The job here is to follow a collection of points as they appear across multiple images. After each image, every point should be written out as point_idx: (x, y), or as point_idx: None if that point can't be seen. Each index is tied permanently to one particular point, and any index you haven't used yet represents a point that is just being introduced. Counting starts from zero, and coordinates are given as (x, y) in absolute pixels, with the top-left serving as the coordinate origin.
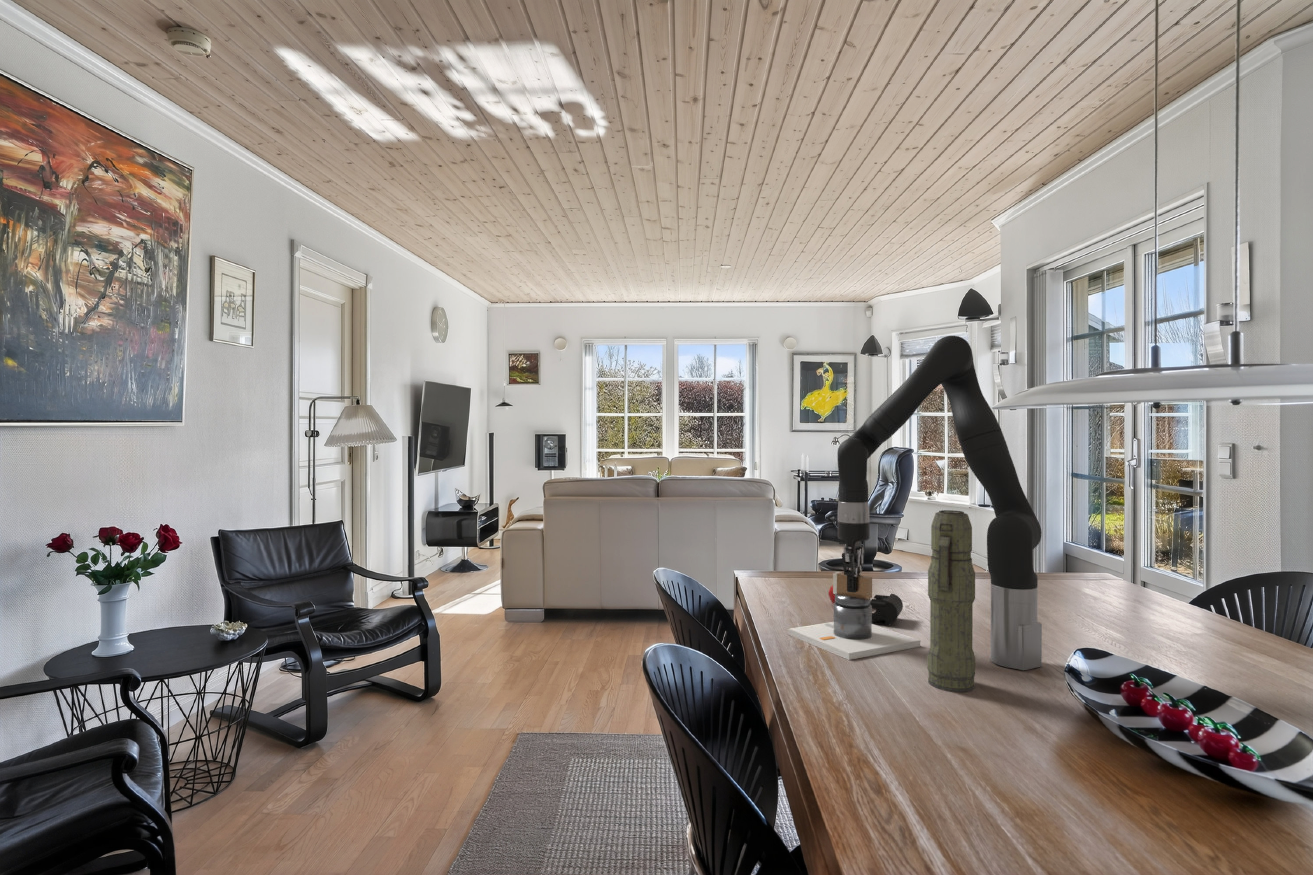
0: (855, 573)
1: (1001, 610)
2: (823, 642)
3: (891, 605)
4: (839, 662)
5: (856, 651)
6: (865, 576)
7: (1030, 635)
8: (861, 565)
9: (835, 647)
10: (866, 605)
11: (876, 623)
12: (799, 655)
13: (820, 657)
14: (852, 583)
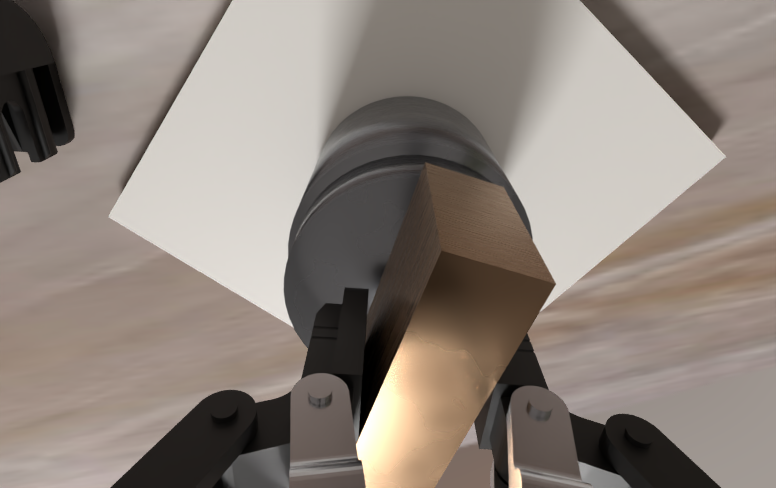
0: (626, 428)
1: None
2: (577, 274)
3: None
4: (745, 176)
5: (691, 128)
6: (441, 316)
7: None
8: (239, 443)
9: (643, 221)
10: (480, 177)
11: (63, 111)
12: (672, 316)
13: (686, 251)
14: (534, 365)
